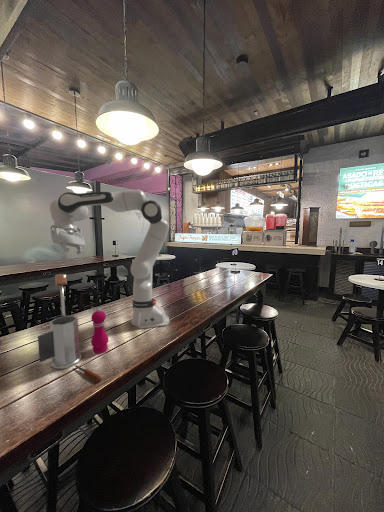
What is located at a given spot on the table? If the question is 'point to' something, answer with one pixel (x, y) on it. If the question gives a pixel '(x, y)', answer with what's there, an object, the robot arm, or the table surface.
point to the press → (61, 343)
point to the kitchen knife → (90, 374)
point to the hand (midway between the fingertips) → (73, 252)
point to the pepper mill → (99, 332)
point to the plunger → (61, 292)
